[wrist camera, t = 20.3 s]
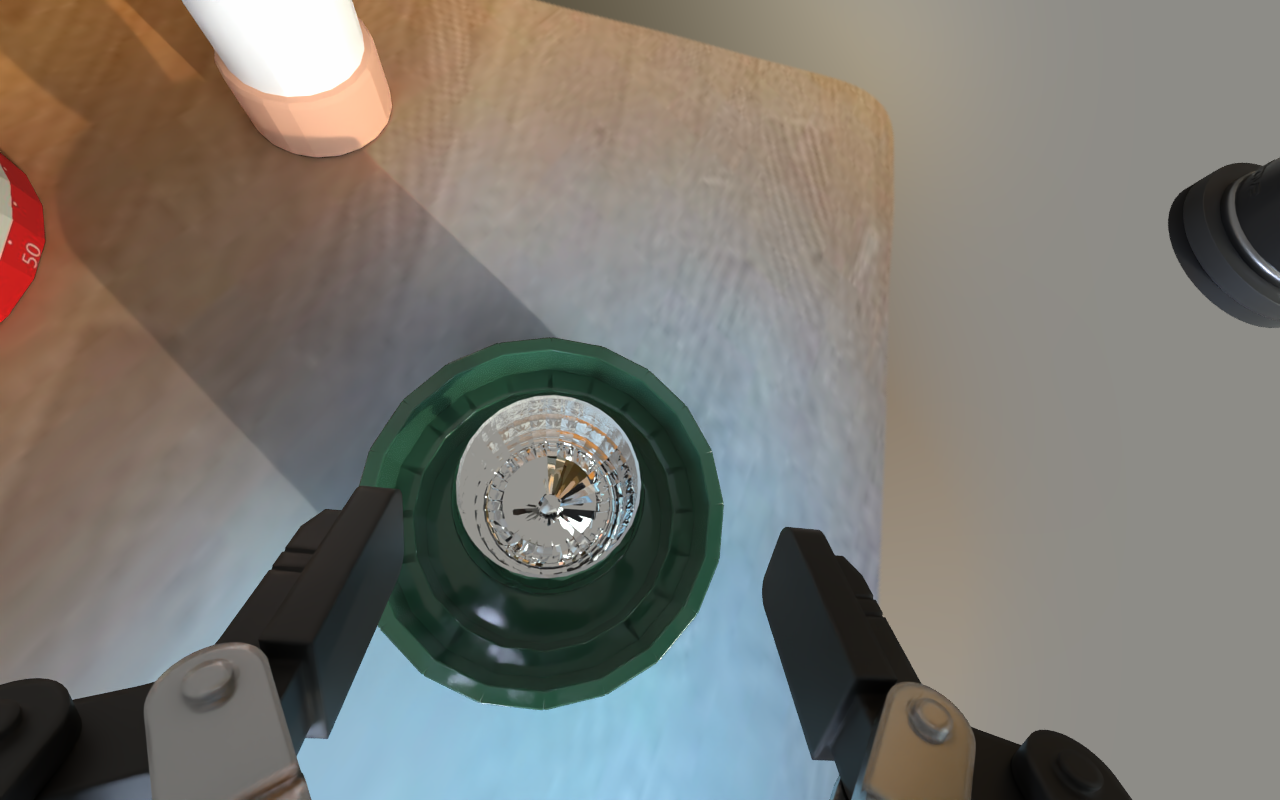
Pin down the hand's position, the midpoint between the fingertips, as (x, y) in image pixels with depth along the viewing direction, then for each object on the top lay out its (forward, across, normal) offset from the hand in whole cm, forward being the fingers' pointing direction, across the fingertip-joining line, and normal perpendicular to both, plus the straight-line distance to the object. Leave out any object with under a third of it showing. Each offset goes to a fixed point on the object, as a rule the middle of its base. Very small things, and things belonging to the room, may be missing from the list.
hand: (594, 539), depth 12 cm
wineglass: (+11, +1, +9) cm, 14 cm away
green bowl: (+11, +1, +9) cm, 15 cm away
